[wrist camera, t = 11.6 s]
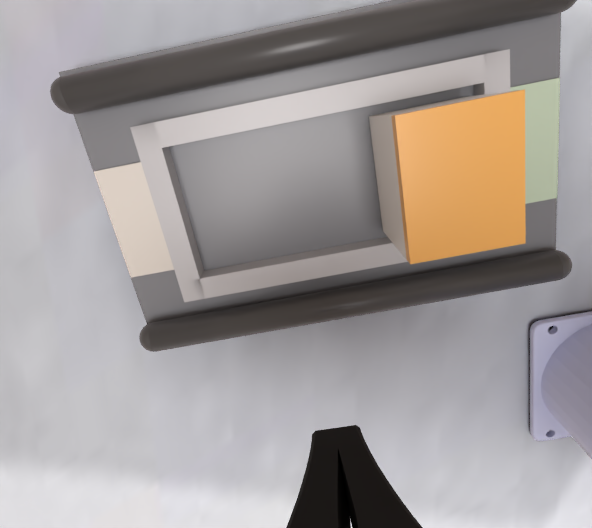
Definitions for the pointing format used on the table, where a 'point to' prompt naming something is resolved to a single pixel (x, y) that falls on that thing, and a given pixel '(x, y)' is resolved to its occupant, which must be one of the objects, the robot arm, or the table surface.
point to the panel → (306, 162)
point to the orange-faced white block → (452, 175)
